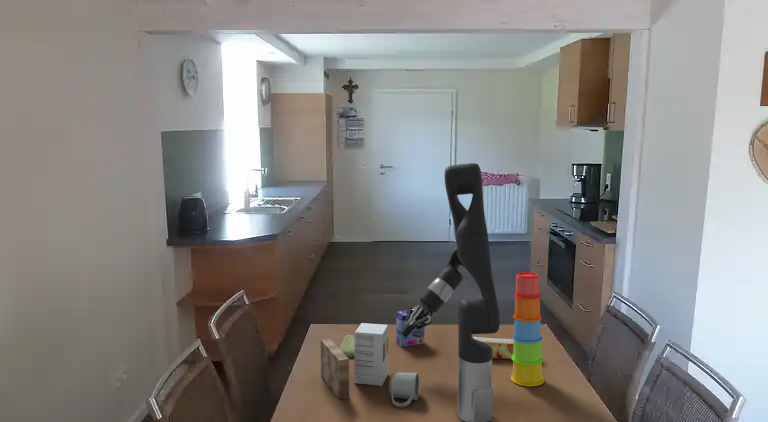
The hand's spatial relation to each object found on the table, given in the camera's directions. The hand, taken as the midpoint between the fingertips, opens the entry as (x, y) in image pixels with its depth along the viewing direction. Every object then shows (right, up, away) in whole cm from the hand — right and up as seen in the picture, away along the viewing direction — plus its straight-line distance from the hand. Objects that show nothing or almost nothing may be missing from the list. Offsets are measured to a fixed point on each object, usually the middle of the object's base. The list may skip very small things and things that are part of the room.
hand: (402, 335), depth 182 cm
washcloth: (-16, -10, +22) cm, 29 cm away
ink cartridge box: (+4, -9, +27) cm, 29 cm away
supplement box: (-10, -13, -3) cm, 17 cm away
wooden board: (-22, -14, -8) cm, 27 cm away
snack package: (+35, -11, +15) cm, 40 cm away
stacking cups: (+39, -14, -3) cm, 42 cm away
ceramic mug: (0, -15, -16) cm, 23 cm away
